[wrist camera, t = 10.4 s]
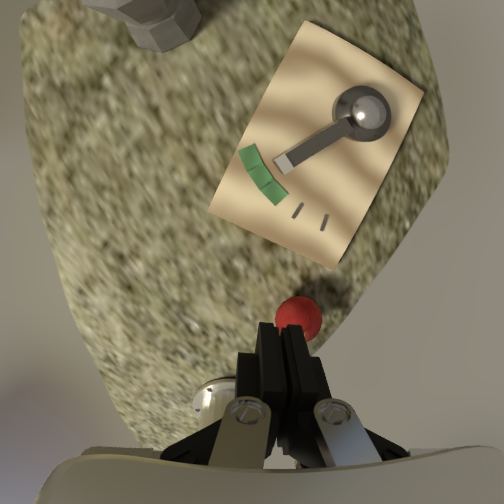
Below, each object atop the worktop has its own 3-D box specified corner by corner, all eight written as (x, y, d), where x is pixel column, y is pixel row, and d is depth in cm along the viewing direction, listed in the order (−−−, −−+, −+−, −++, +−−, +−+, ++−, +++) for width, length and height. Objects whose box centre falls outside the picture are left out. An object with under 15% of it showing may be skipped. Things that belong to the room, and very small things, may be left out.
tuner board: (330, 266, 40) (333, 271, 39) (208, 208, 38) (206, 211, 36) (418, 93, 33) (424, 92, 31) (303, 24, 30) (305, 19, 29)
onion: (323, 309, 42) (337, 342, 35) (288, 331, 43) (295, 366, 36) (302, 278, 41) (313, 307, 33) (265, 301, 42) (268, 334, 34)
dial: (364, 80, 31) (377, 73, 27) (392, 126, 33) (407, 125, 29) (259, 142, 34) (260, 141, 30) (290, 189, 35) (295, 194, 31)
